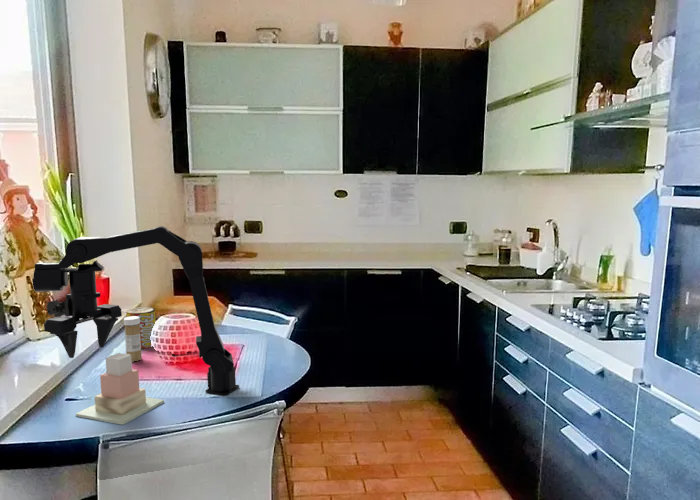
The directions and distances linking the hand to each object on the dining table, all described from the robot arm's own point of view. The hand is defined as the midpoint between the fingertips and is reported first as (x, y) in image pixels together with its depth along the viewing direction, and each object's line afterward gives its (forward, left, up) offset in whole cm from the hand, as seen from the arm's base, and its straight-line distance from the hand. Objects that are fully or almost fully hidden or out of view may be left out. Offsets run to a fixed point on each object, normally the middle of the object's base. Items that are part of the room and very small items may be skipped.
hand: (86, 352), depth 138 cm
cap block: (-10, 0, -4) cm, 10 cm away
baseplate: (-10, 0, -13) cm, 16 cm away
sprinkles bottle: (+14, -31, -13) cm, 37 cm away
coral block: (-10, 0, -9) cm, 13 cm away
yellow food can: (+23, -45, -13) cm, 52 cm away
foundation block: (-10, 0, -13) cm, 16 cm away
